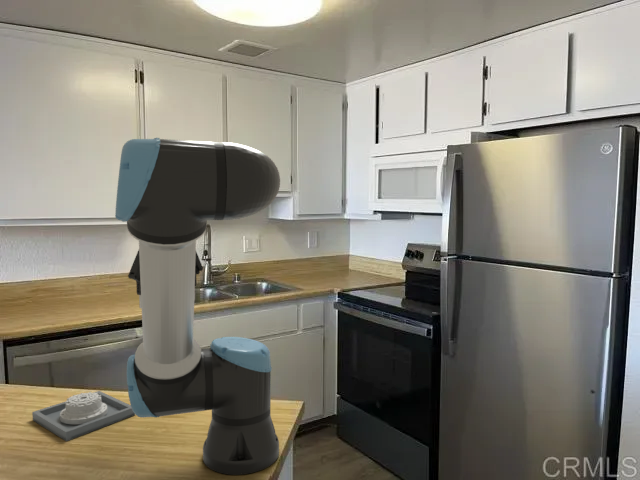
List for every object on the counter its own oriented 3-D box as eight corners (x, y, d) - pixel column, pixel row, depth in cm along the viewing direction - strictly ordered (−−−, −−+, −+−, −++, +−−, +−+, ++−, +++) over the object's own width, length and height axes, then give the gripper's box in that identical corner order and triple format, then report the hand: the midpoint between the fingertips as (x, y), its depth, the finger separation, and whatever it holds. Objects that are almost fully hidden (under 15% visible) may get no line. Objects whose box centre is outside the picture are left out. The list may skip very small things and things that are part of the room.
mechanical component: (49, 423, 109) (88, 428, 107) (49, 404, 109) (87, 408, 107) (80, 405, 119) (116, 409, 117) (79, 387, 118) (115, 391, 116)
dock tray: (134, 415, 115) (134, 407, 115) (66, 441, 102) (65, 432, 102) (99, 398, 125) (99, 390, 124) (32, 420, 112) (32, 411, 112)
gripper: (196, 216, 130) (197, 294, 131) (110, 217, 109) (112, 310, 110) (216, 216, 125) (216, 297, 127) (130, 217, 105) (132, 314, 106)
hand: (168, 304), depth 118 cm, fingers open, 13 cm apart
